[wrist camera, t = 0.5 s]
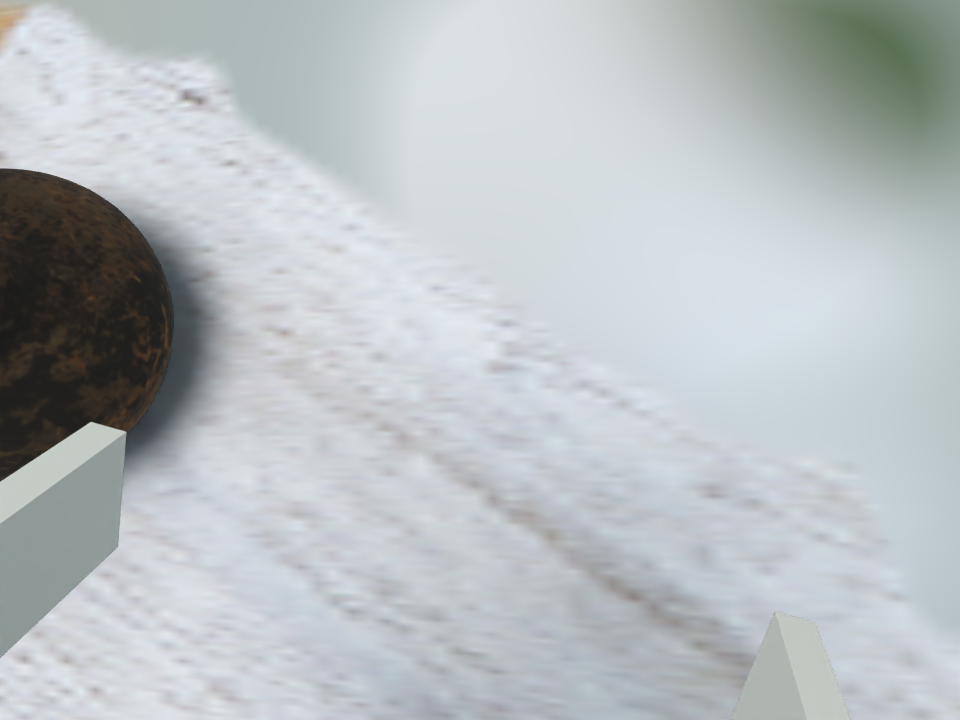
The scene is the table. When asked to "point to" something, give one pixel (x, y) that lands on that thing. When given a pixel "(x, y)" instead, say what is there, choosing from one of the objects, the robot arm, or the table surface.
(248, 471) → the table surface
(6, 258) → the glass bottle
